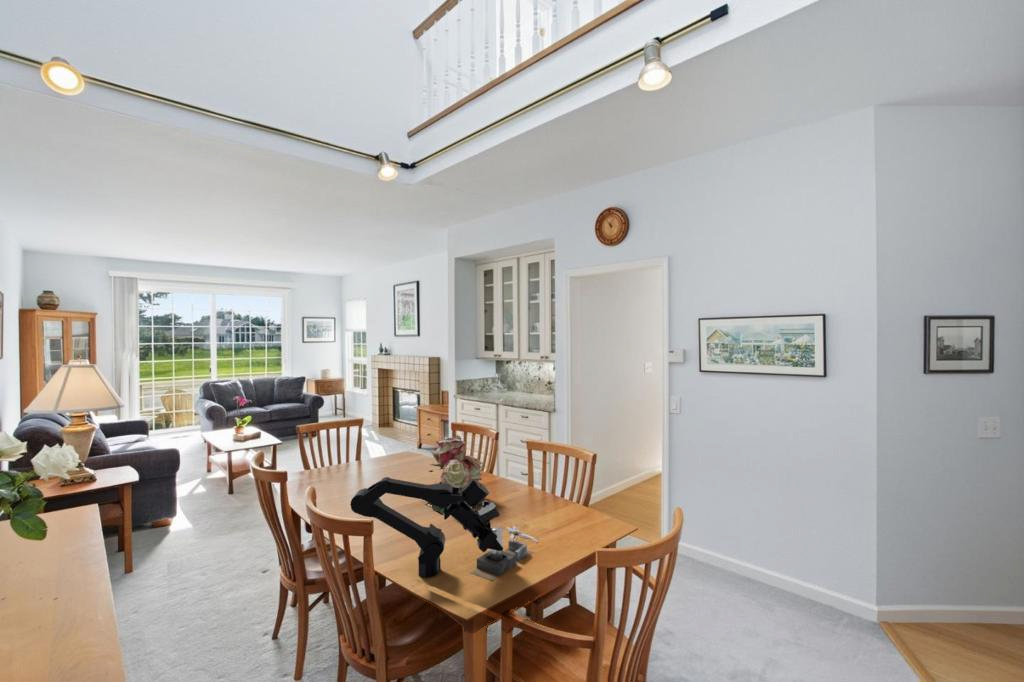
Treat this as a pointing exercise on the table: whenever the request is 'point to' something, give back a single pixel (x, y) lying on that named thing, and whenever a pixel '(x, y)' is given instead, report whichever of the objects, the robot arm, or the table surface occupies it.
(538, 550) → the table surface
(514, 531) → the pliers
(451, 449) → the rose bouquet
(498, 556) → the axle
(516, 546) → the block with square hole
